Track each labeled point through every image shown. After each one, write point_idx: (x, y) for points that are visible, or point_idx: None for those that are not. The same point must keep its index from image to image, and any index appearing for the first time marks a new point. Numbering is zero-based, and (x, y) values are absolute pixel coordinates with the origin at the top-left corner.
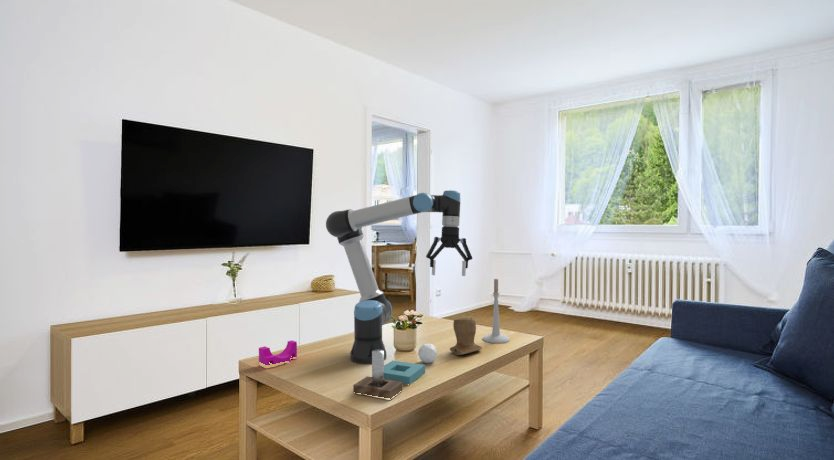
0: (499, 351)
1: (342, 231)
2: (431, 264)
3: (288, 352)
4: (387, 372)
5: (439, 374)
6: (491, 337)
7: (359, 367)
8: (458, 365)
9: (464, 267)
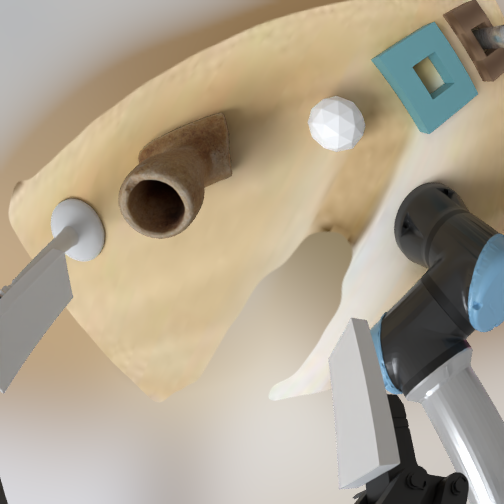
0: (104, 135)
1: None
2: (399, 420)
3: None
4: (462, 71)
5: (344, 33)
6: (85, 224)
7: (465, 175)
8: (265, 63)
9: (12, 299)
